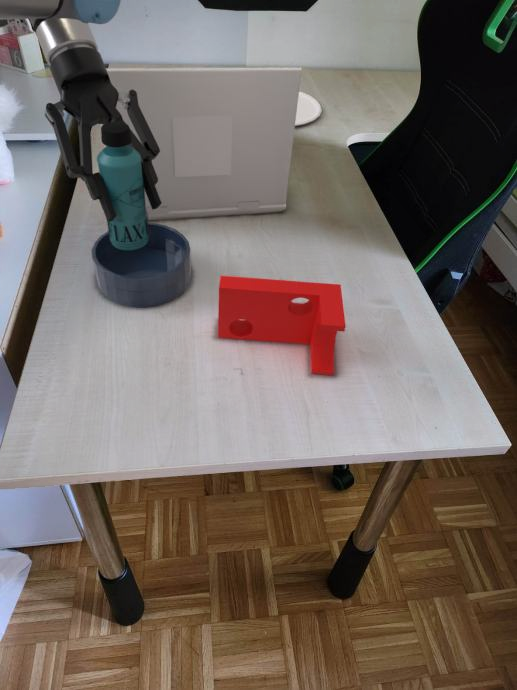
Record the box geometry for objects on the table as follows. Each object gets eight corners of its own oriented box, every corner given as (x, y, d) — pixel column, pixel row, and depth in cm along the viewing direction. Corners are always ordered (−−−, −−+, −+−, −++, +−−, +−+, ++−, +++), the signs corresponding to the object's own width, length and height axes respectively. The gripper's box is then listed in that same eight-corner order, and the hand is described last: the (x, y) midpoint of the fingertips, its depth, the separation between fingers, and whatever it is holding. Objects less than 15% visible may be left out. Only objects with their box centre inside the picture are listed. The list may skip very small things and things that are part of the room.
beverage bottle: (104, 254, 83) (81, 132, 69) (120, 232, 88) (102, 112, 73) (142, 262, 82) (127, 139, 68) (157, 239, 87) (146, 119, 72)
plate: (245, 81, 161) (245, 77, 160) (334, 102, 154) (335, 98, 153) (201, 114, 142) (201, 109, 141) (301, 139, 135) (301, 134, 134)
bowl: (99, 312, 84) (93, 284, 80) (95, 254, 95) (90, 226, 91) (198, 301, 88) (197, 273, 83) (183, 246, 98) (182, 219, 94)
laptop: (257, 156, 127) (266, 24, 106) (285, 214, 109) (303, 69, 89) (111, 162, 119) (91, 22, 99) (115, 225, 102) (92, 70, 81)
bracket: (340, 280, 78) (345, 326, 71) (328, 329, 85) (333, 375, 78) (221, 271, 77) (214, 316, 70) (220, 321, 85) (214, 366, 78)
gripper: (131, 64, 82) (184, 203, 85) (3, 82, 73) (68, 236, 76) (142, 36, 75) (200, 189, 78) (4, 52, 67) (74, 223, 69)
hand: (135, 212), depth 77 cm, fingers closed on beverage bottle, 6 cm apart
